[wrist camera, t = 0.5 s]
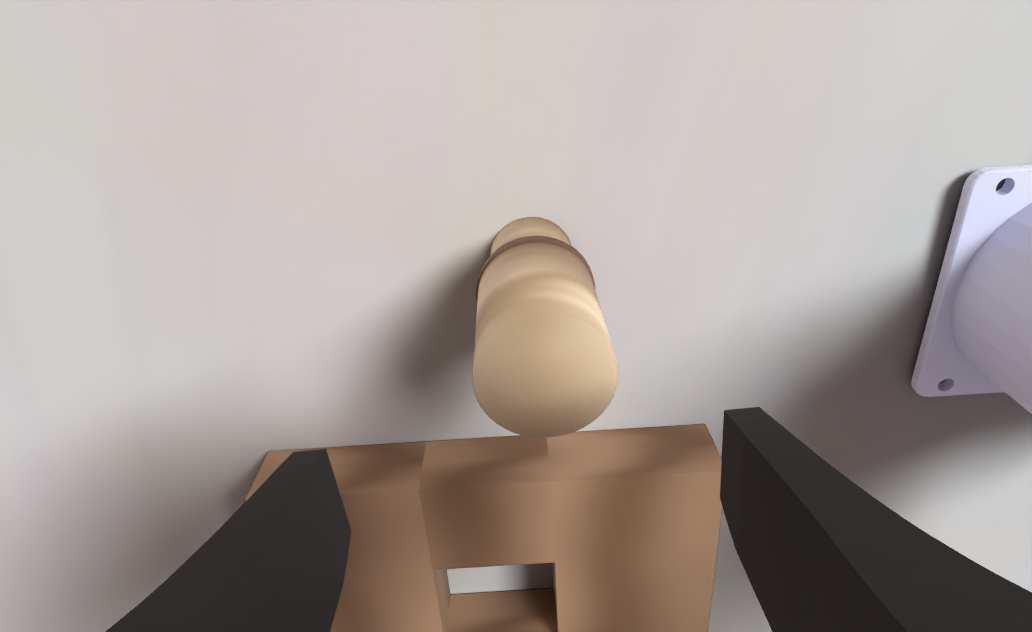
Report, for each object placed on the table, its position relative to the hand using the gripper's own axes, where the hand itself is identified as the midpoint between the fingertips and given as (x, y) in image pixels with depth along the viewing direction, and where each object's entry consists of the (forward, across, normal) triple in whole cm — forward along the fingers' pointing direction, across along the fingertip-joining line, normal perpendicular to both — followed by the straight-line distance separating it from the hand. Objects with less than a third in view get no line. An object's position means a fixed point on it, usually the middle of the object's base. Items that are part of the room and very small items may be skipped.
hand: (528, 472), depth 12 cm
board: (+10, +2, +13) cm, 16 cm away
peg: (+10, 0, 0) cm, 10 cm away
